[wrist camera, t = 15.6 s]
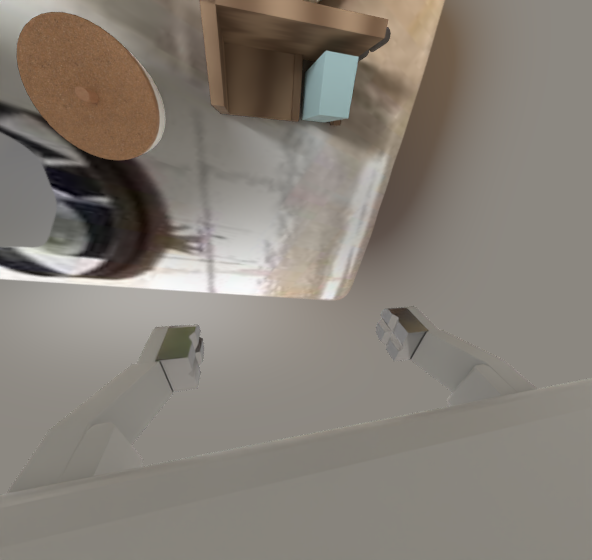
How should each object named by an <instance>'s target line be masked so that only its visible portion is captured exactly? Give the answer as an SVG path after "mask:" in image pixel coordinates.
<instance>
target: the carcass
mask: <svg viewBox="0 0 592 560" xmlns="http://www.w3.org/2000/svg"><path fill="white" fill-rule="evenodd" d="M200 9H201V18H202V27H203V36H204V45H205V54H206V63H207V72H208V81H209V90H210V99H211V105H212V106H213V107H214V108H215V109H216V110H217V111H218V112H220V113H221V114H229V115H239V116H248V117H258V118H267V119H277V120H286V121H296V122H297V121H299V112H300V97H301V81H302V66H303V59H305V60H311V61H316V60H317V59H318V58H319V57H320V56H321V55H322V54H323V53H324V52H325V51H331V52H336V53H342V54H347V55H352V56H357V57H359V58H358V62H359V61H360V60H362V59H363V58H365V57H366V56H367V55H368V53H369V50H370V51H371V52H374V51H375V50H377V49H378V48H380V47H381V46H383V45H384V44H386V43H387V42H388V41H389V39H390V29H389V28H388V27H387V23H388V19H384V18H379V17H375V16H370V15H366V14H361V13H357V12H352V11H348V10H343V9H339V8H334V7H330V6H325V5H321V4H316V3H312V2H307V1H303V0H200ZM340 124H341V120H336V121H331V122H330V125H334V126H339V125H340Z"/></svg>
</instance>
